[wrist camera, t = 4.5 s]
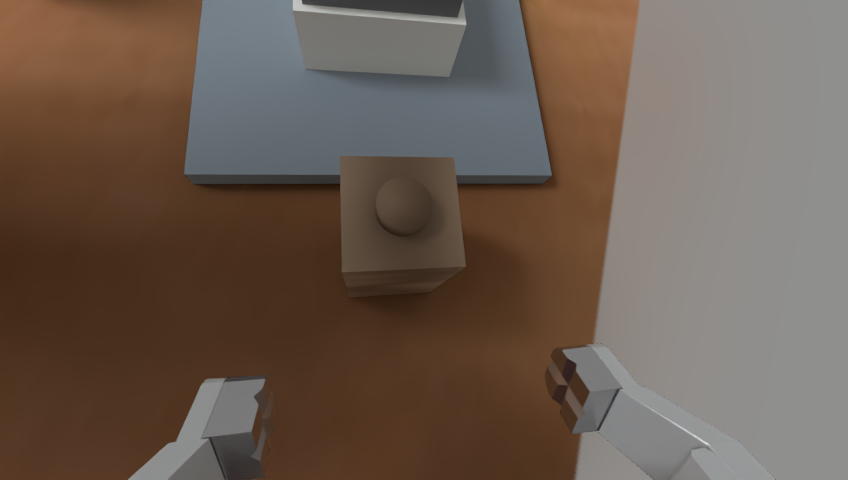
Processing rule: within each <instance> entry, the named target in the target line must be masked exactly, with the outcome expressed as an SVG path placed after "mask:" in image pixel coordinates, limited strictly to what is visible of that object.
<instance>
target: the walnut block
mask: <svg viewBox="0 0 848 480" xmlns="http://www.w3.org/2000/svg"><path fill="white" fill-rule="evenodd" d="M340 197H341V257H342V275H343V278H344V282H345V285H346V289H347V293H348V296H349V297H363V296H380V295H397V294H415V293H429V292H431V291H432V290H434V289H435V288H437V287H438V286H439V285H441V284H442V283H444V282H445V281H446V280H448V279H449V278H451V277H452V276H454V275H455V274H456V273H458V272H459V271H461V270H462V269H464V268H465V267H466V261H465V252H464V243H463V234H462V225H461V216H460V207H459V198H458V189H457V180H456V171H455V162H454V157H387V156H340Z"/></svg>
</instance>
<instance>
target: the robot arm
mask: <svg viewBox="0 0 848 480" xmlns="http://www.w3.org/2000/svg"><path fill="white" fill-rule="evenodd" d="M551 358H552V360H553V362H552V363H551V364H550V365H549V366H548V367H547V370H546V373H545V380H546V386H547V389H548V392H549V394H550V396H551V397H552V399H553V400H554V401H556V402H557V403H559V404H560V405H561V407H560V414H561V416H562V417H563V419H564V421H565V423H566V425H567V426H568V428H569V430H570V432H571V433H572V434H573V433H582V432H592V431H599V433H600V434H601V435H602V436H603V437H604V438H606V439H607V440H608V441H609V442H610V443H612V445H614V446H615V447H616V448H617V449H618V450H620V451H621V452H622V453H623V454H624V455H625V456H626V457H628V458H629V459H630V460H631V461H632V462H633V463H635V464H636V465H637V466H638V467H639V468H641V469H642V470H643V471H644V472H646V474H647V475H649V476H650V477H651V478H652V479H653V480H775V478H774V477H773V476H772V475H771V474H770V473H769V472H768V471H767V470H766V469H765V468H764V467H763V466H762V465H761V464H760V463H759V462H758V461H757V460H756V459H755V458H754V457H753V456H752V455H751V453H750V452H749V451H748V450H747V449H746V448H745V447H744V446H743V445H742V444H741V443H740V442H739V441H737V440H736V439H734V438H732V437H731V436H729V435H727V434H726V433H724V432H722V431H720V430H719V429H717V428H715V427H714V426H712V425H710V424H708V423H707V422H705V421H703V420H702V419H700V418H698V417H697V416H695V415H693V414H691V413H690V412H688V411H686V410H685V409H683V408H681V407H679V406H678V405H676V404H674V403H673V402H671V401H669V400H667V399H666V398H664V397H662V396H660V395H659V394H657V393H655V392H654V391H652V390H650V389H649V388H647V387H645V386H644V387H640V386H639V385H638V383H637V382H636V381H635V380H634V379H633V377H632V376H631V375H630V374H629V373H628V371H627V370H626V369H625V368H624V367H623V365H622V364H621V363H620V362H619V360H618V359H617V358H616V357H615V356H614V354H613V353H612V352H611V351H610V350H609V349H608V347H607V346H605V345H604V344H602V343H600V344H589V345H577V346H568V347H558V348H555V349H554V350H553V352H552V354H551ZM271 387H272V380H271V377H270V375H255V376H240V377H227V378H215V379H206V380H205V381H204V382H203V383H202V384H201V386H200V388H199V390H198V393H197V395H196V397H195V399H194V402H193V404H192V406H191V408H190V411H189V413H188V415H187V417H186V420H185V422H184V424H183V426H182V429H181V431H180V433H179V435H178V438H177V440H176V442H172V443H168V444H167V445H166V446H165V447H163V448H162V449H161V450H160V451H159V452H158V453H157V454H156V455H155V456H153V457H152V458H151V459H150V460H149V461H148V462H147V463H146V464H145V465H143V466H142V467H141V468H140V469H139V470H138V471H137V472H136V473H135V474H133V475H132V476H131V477H130V478H129V479H128V480H249V479H254V478H260V477H264V476H265V471H266V466H267V461H268V457H269V452H270V447H269V443H268V438H269V437H270V436H271V435H272V433H273V432H274V427H275V422H276V399H275V395H274V394H273V393H271V392H270V391H271Z"/></svg>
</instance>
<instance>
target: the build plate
mask: <svg viewBox="0 0 848 480" xmlns="http://www.w3.org/2000/svg"><path fill="white" fill-rule="evenodd" d="M340 156H387V157H454V162H455V171H456V180H457V184H530V183H544V182H545V181H546V180H547V179H548V178H550V177H551V176H552V173H551V168H550V162H549V157H548V152H547V146H546V141H545V136H544V131H543V125H542V120H541V115H540V109H539V104H538V99H537V94H536V88H535V83H534V78H533V72H532V67H531V62H530V57H529V51H528V46H527V41H526V35H525V30H524V25H523V20H522V14H521V9H520V4H519V0H203V2H202V11H201V20H200V30H199V39H198V48H197V57H196V67H195V76H194V85H193V95H192V104H191V113H190V122H189V132H188V141H187V150H186V159H185V169H184V175H185V176H186V177H187V178H188V179H189V180H190V181H191V182H193V183H194V184H340Z"/></svg>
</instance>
